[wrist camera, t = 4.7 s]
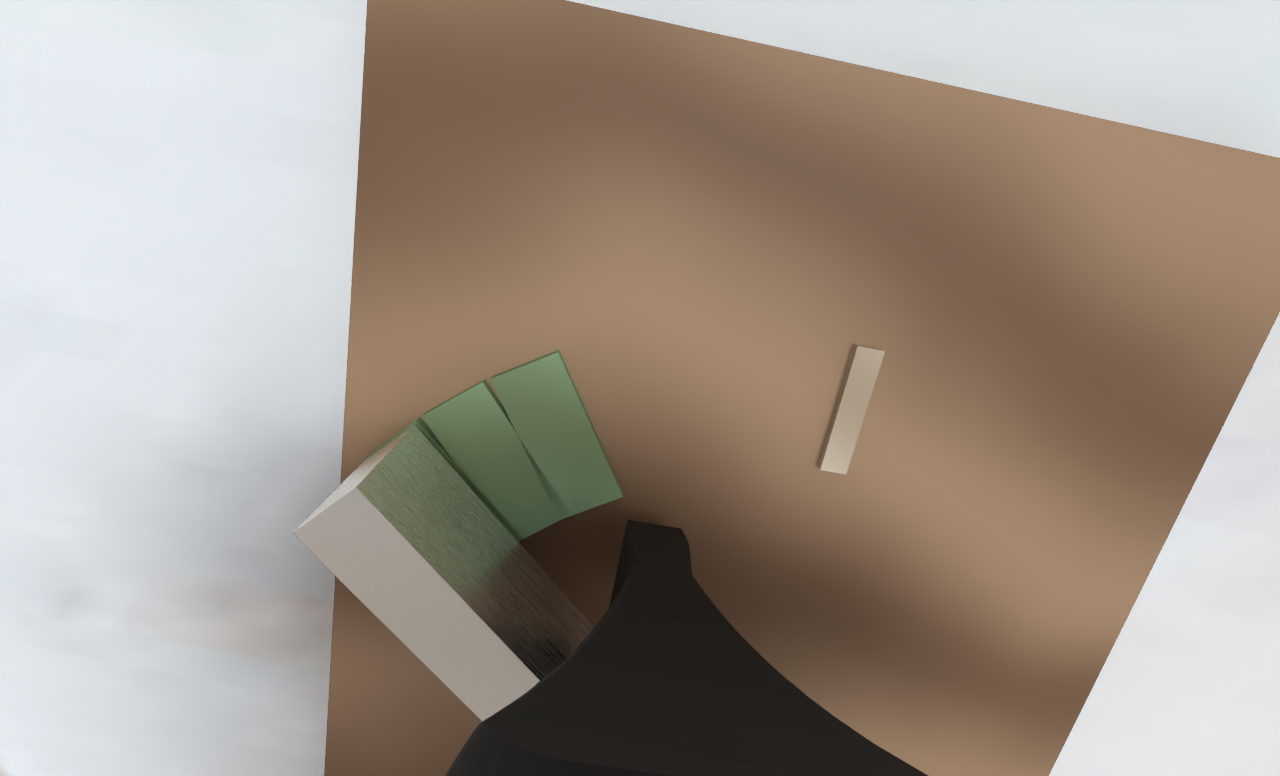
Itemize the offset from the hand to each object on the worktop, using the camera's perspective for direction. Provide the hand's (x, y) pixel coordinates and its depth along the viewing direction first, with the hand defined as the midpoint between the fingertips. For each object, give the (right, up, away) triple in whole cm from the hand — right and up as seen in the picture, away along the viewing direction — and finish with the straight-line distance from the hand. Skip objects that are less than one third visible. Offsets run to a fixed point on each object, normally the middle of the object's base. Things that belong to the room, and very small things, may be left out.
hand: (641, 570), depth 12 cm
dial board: (+2, -1, +2) cm, 3 cm away
